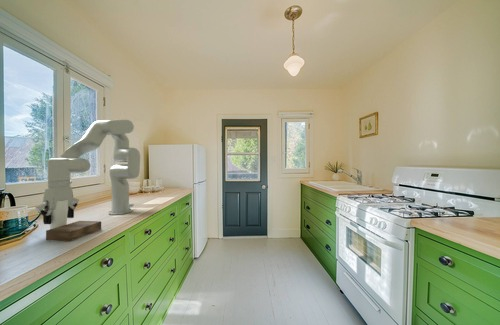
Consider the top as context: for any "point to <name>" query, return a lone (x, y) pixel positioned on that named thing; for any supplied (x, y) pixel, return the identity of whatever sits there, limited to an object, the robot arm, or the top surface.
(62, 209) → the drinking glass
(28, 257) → the top surface
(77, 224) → the walnut block
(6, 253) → the top surface
